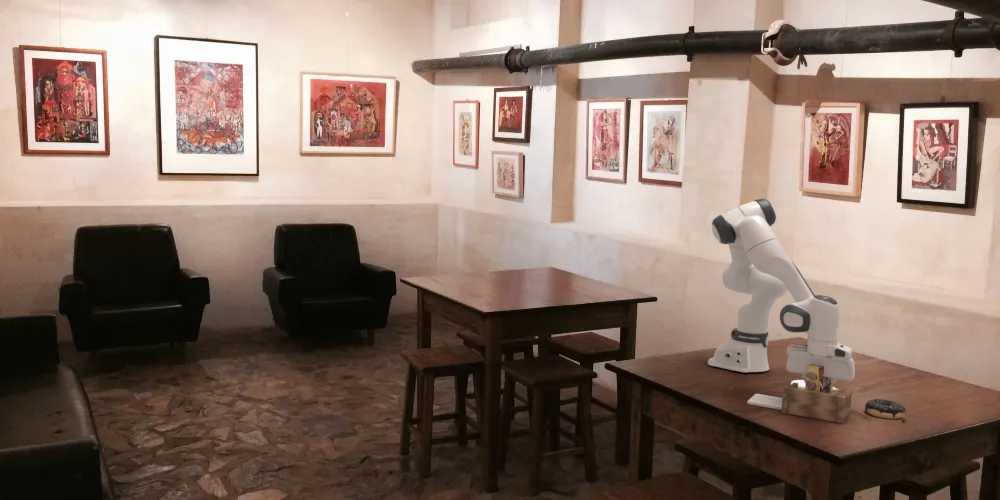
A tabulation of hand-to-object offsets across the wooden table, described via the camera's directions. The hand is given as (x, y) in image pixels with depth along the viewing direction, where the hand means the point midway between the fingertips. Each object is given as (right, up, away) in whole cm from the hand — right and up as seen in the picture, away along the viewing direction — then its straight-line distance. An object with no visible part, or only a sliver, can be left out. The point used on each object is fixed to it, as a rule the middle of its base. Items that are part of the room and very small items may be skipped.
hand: (818, 389), depth 261 cm
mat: (-13, -6, +8) cm, 17 cm away
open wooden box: (0, -7, +1) cm, 7 cm away
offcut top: (+4, -3, +8) cm, 10 cm away
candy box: (0, -7, +1) cm, 7 cm away
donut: (+21, -8, 0) cm, 22 cm away
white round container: (+4, -5, +21) cm, 22 cm away
